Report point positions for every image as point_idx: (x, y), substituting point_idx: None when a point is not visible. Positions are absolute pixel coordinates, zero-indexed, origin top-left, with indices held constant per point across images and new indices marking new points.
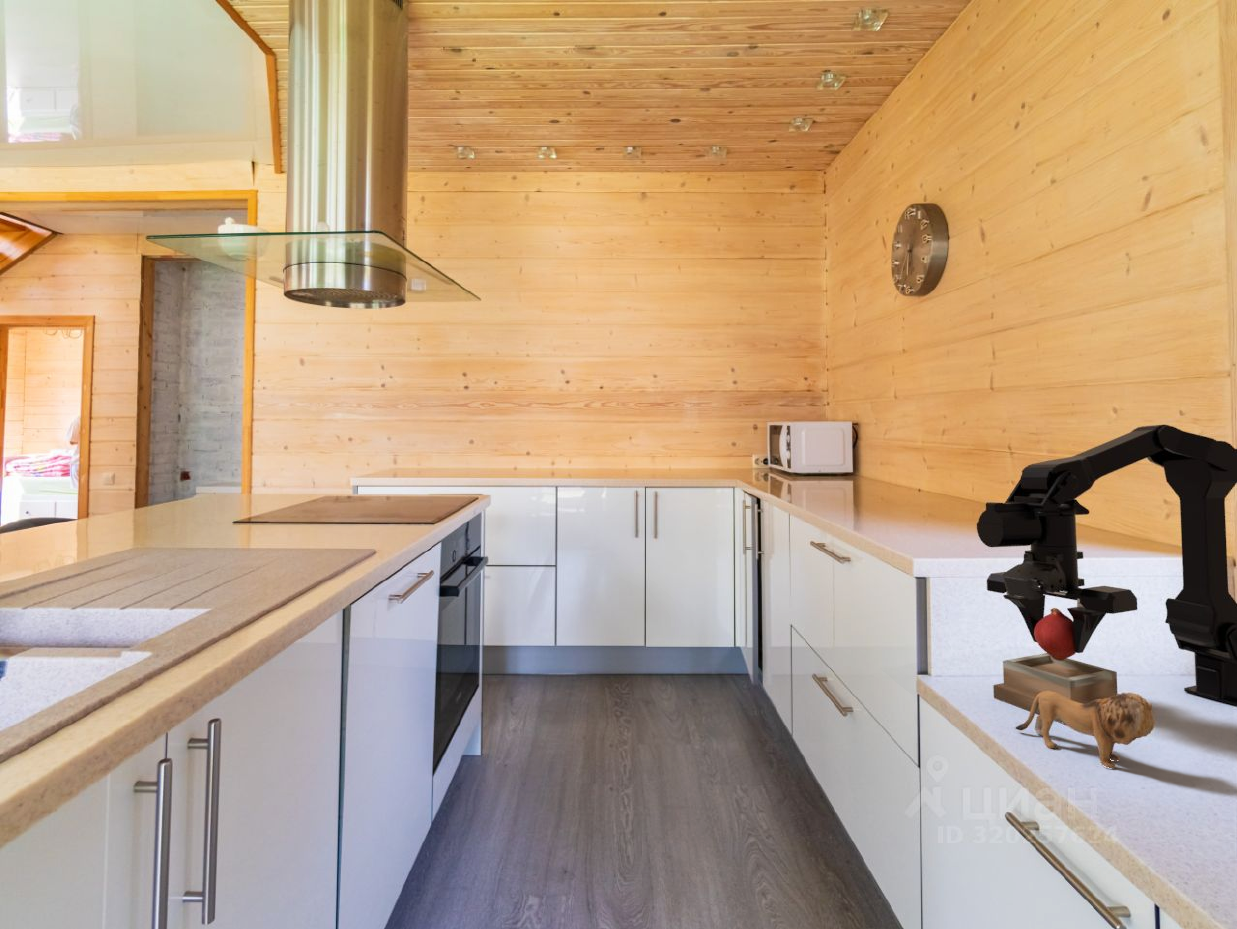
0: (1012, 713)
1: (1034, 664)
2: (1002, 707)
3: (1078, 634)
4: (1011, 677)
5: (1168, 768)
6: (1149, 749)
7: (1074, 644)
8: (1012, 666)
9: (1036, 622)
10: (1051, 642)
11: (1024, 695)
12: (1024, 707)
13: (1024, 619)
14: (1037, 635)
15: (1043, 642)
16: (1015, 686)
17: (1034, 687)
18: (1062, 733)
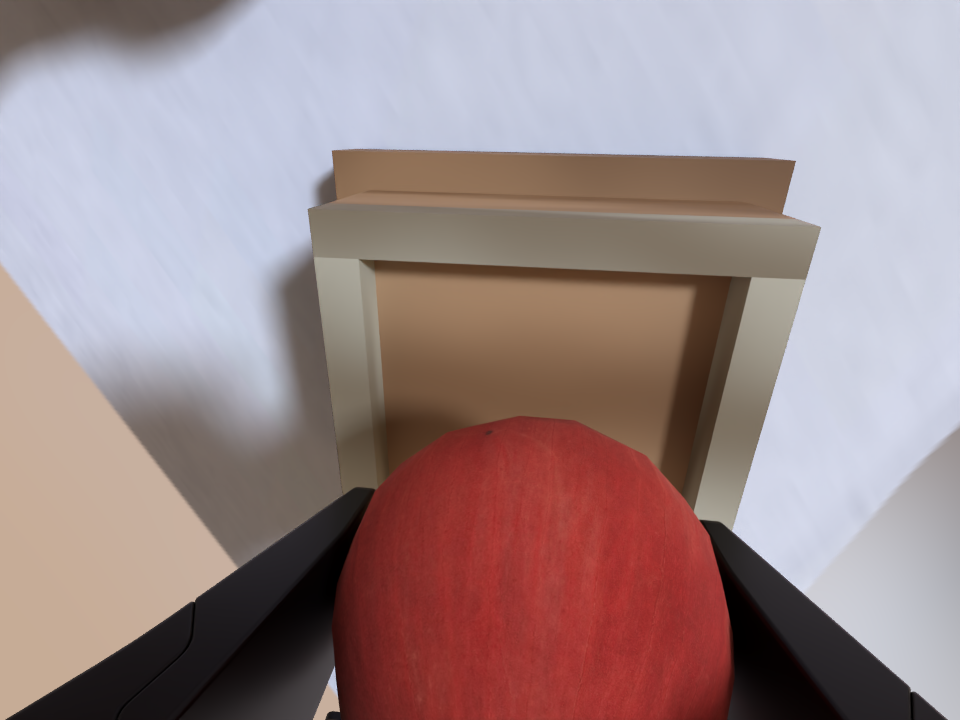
0: (587, 37)
1: (692, 442)
2: (663, 68)
3: (238, 588)
4: (712, 209)
5: (13, 97)
6: (149, 212)
7: (345, 519)
8: (726, 220)
9: (770, 716)
10: (475, 436)
11: (596, 165)
12: (588, 154)
13: (920, 701)
14: (633, 479)
15: (558, 431)
16: (673, 201)
17: (554, 201)
18: (333, 32)
